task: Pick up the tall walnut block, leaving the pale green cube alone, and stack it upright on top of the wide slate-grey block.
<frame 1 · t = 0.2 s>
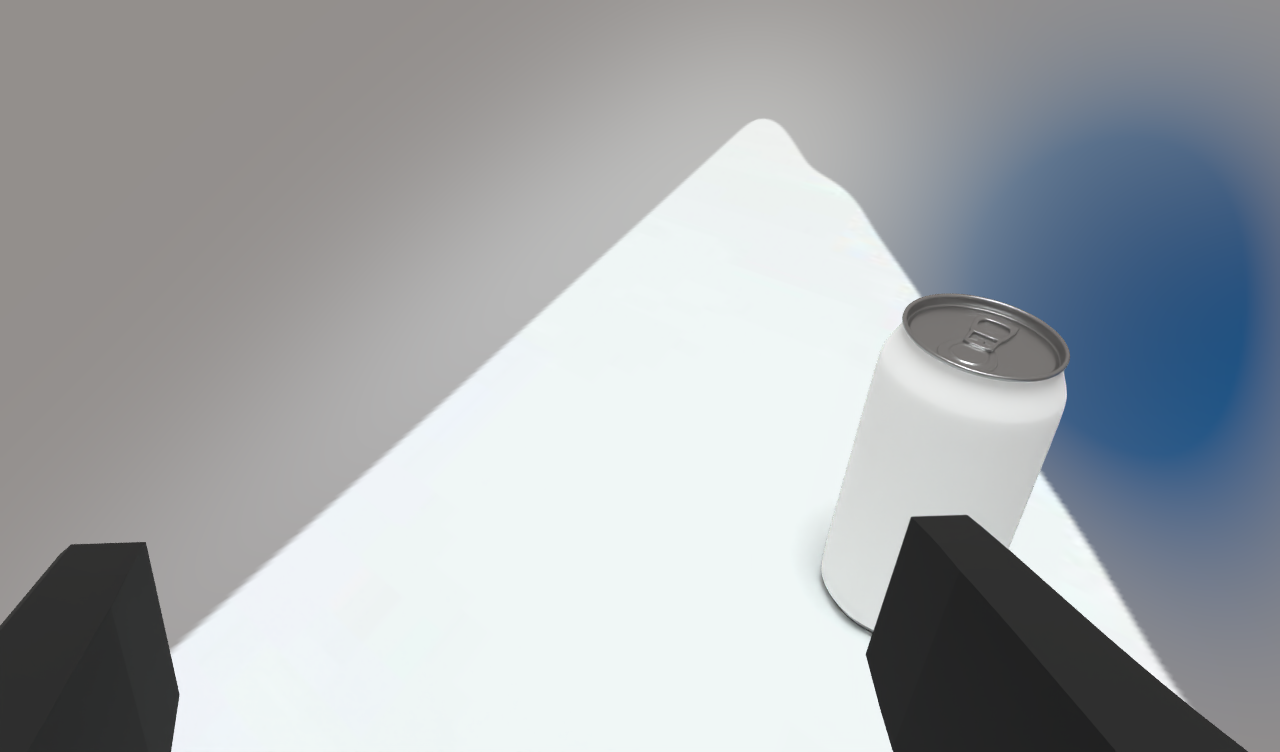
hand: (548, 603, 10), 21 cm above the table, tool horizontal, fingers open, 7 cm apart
can: (897, 593, 42), on the table
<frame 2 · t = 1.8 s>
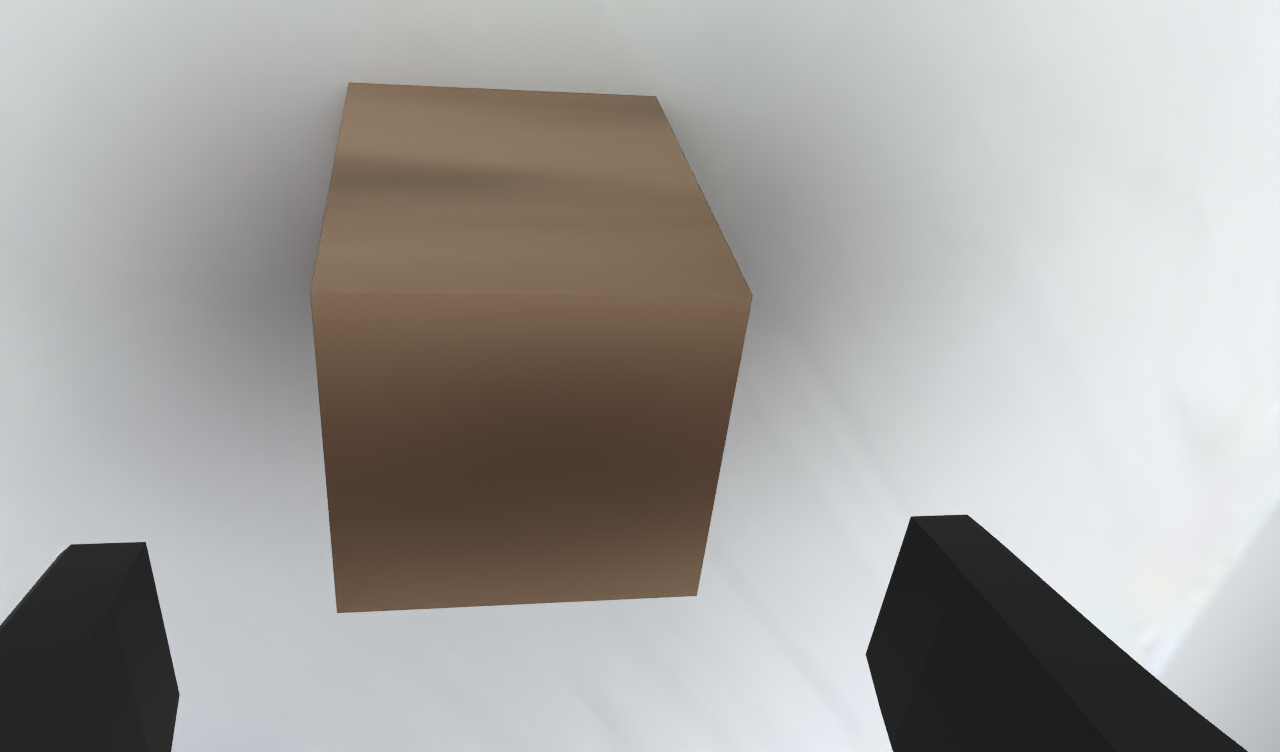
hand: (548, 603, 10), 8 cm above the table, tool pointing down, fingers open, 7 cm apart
walnut block: (501, 226, 17), on the table
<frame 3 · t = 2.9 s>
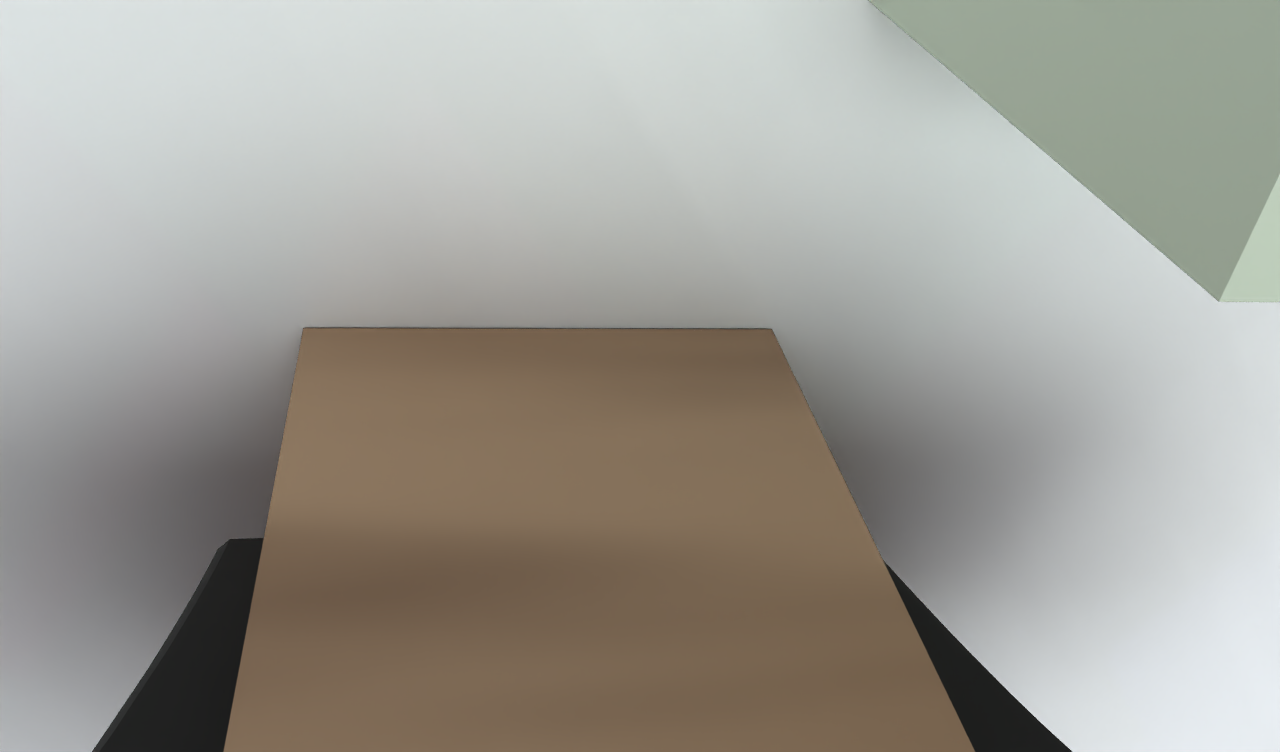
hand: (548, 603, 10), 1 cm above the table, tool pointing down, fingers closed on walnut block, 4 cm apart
walnut block: (536, 504, 11), on the table, touching gripper
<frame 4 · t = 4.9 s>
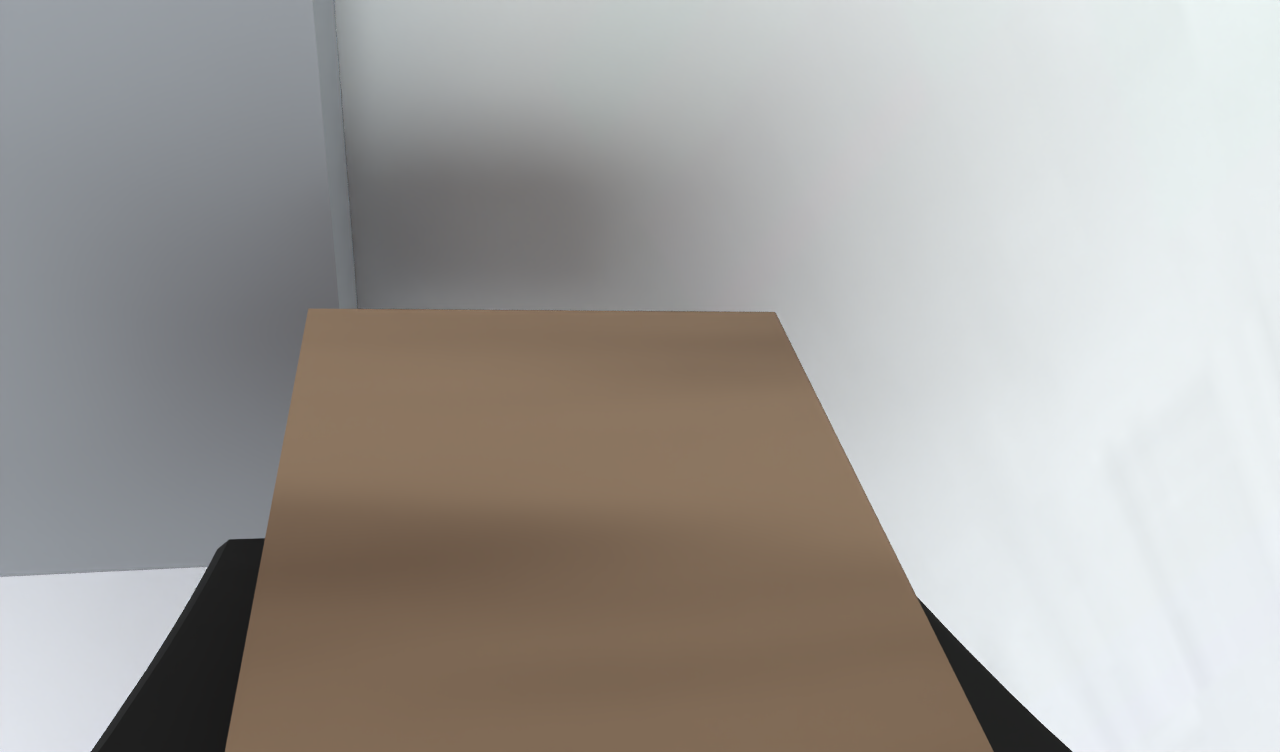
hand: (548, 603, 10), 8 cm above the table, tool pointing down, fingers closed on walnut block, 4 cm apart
walnut block: (539, 488, 11), point 7 cm above the table, touching gripper
grey block: (14, 199, 16), on the table
when the fingers open (5 cm above the table, at t = 6.7 s): walnut block stays where it is, resting on grey block.
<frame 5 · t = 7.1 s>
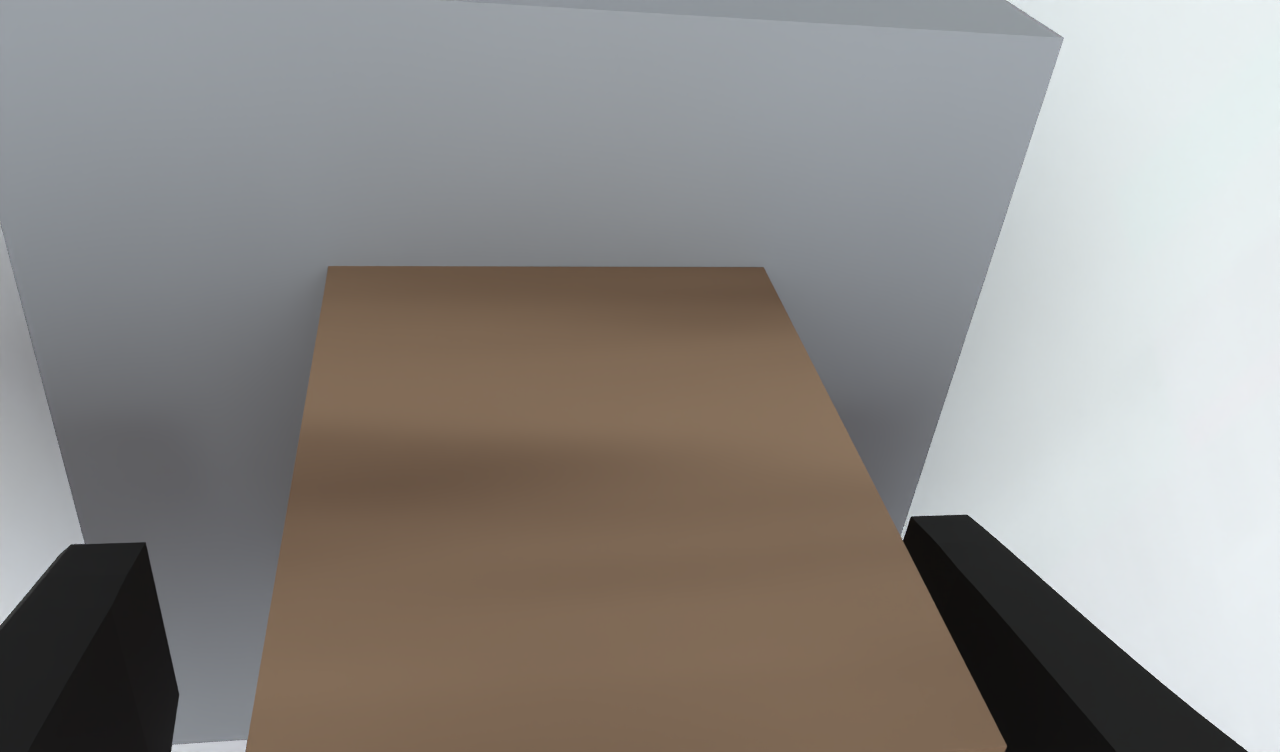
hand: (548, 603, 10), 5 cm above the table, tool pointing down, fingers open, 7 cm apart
walnut block: (545, 437, 12), point 2 cm above the table, touching grey block
grey block: (514, 311, 15), on the table, touching walnut block
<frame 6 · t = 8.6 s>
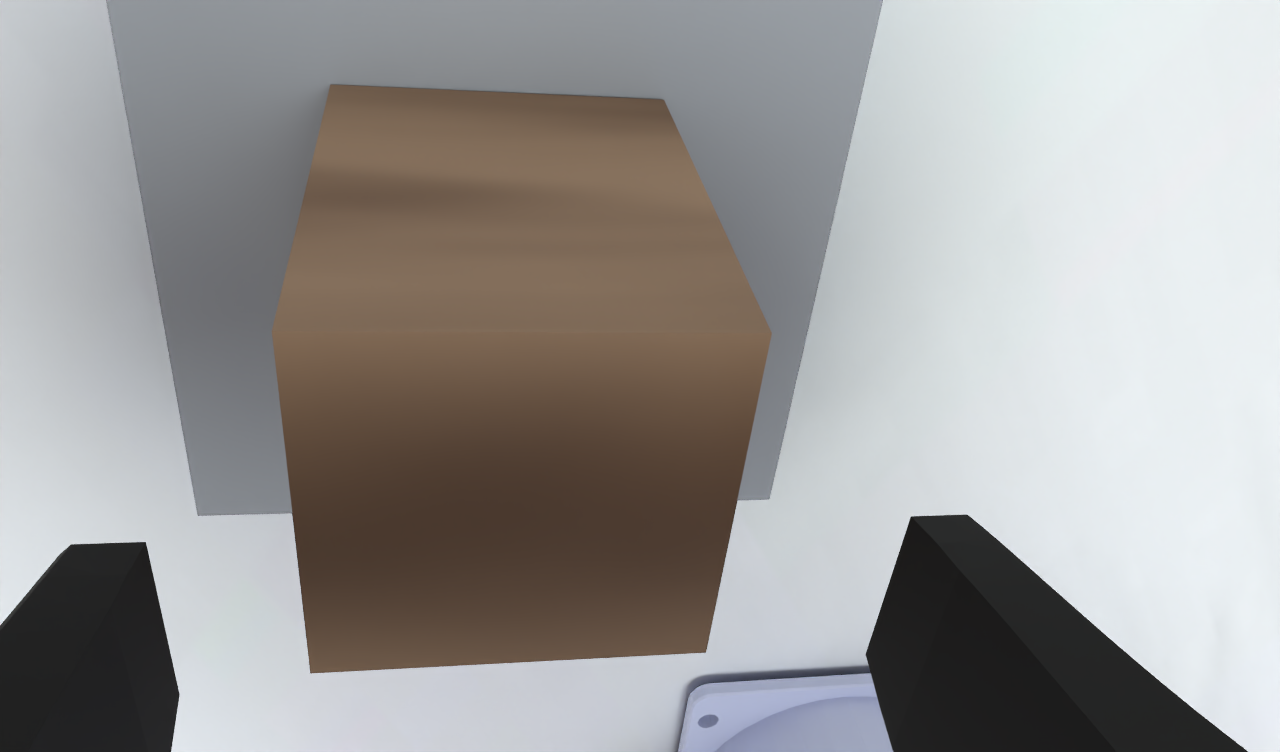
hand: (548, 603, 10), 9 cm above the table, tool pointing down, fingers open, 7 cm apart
walnut block: (497, 239, 16), point 2 cm above the table, touching grey block
grey block: (497, 173, 18), on the table, touching walnut block
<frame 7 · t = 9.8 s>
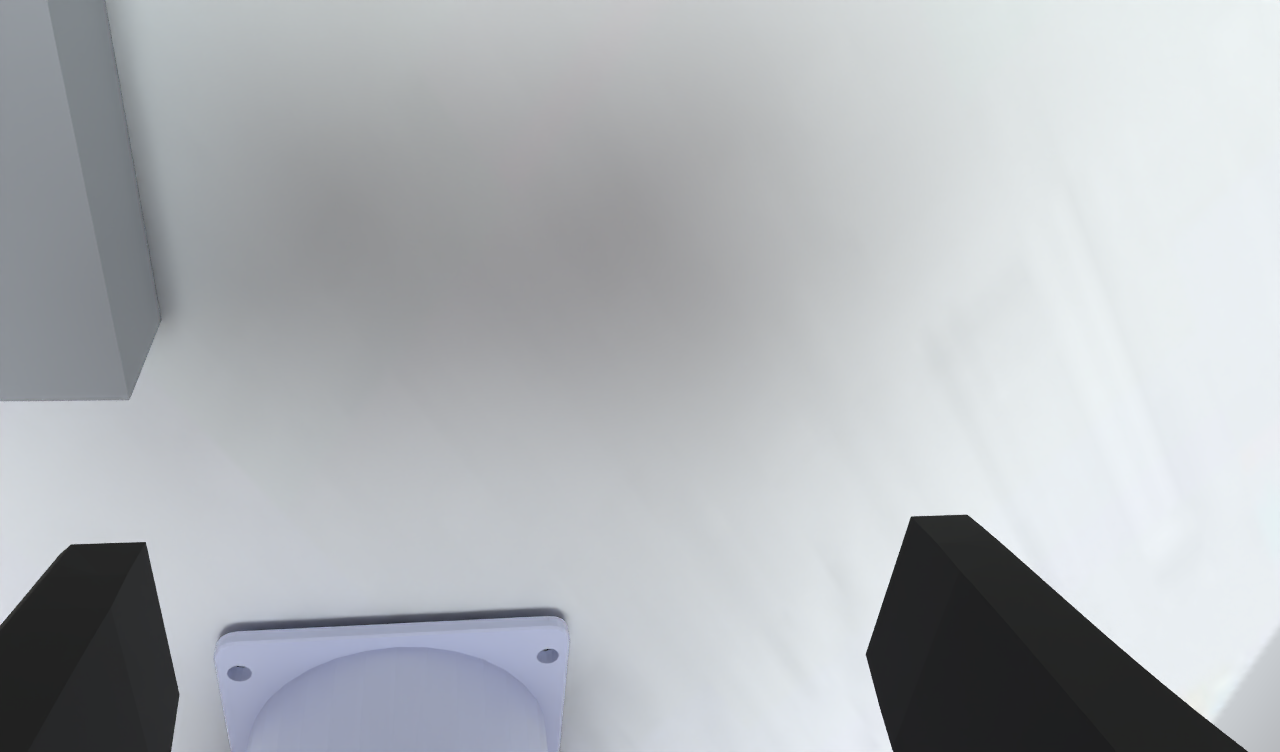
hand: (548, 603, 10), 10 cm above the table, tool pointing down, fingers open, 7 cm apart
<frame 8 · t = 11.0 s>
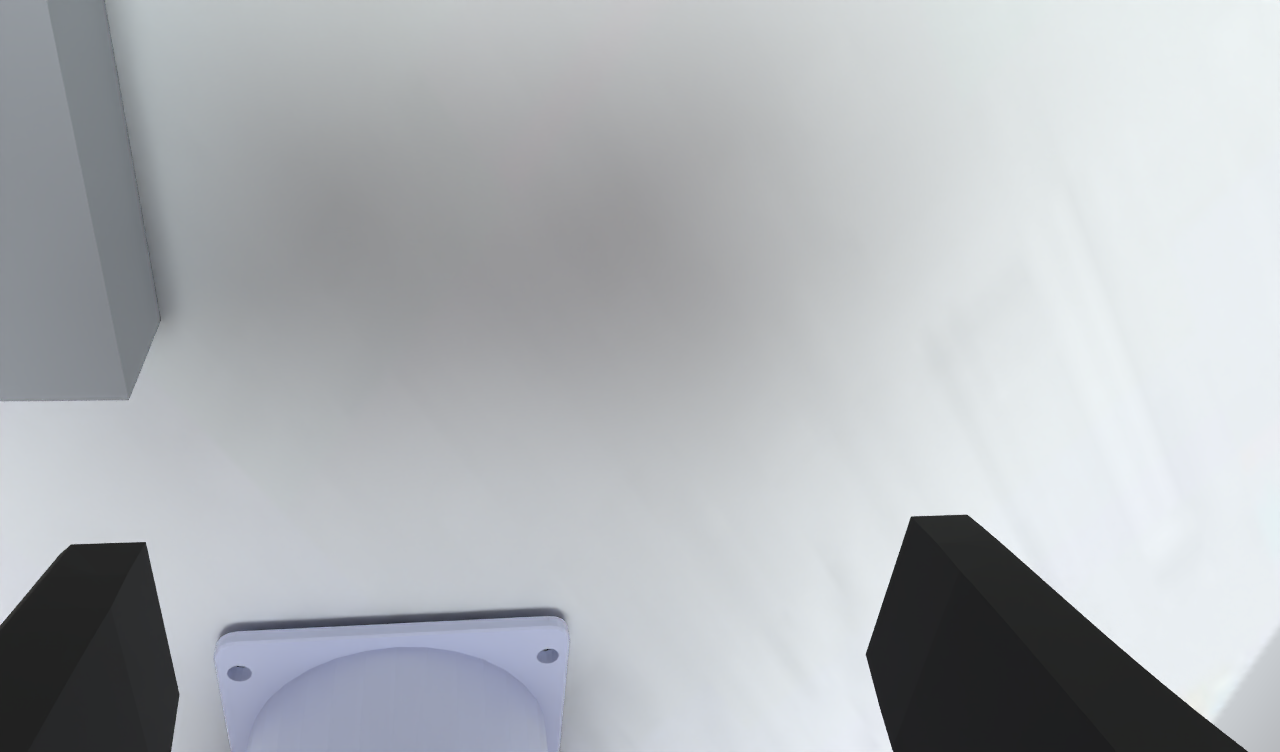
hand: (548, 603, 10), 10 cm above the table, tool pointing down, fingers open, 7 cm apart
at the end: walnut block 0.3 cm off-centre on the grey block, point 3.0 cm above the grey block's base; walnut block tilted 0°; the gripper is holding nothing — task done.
